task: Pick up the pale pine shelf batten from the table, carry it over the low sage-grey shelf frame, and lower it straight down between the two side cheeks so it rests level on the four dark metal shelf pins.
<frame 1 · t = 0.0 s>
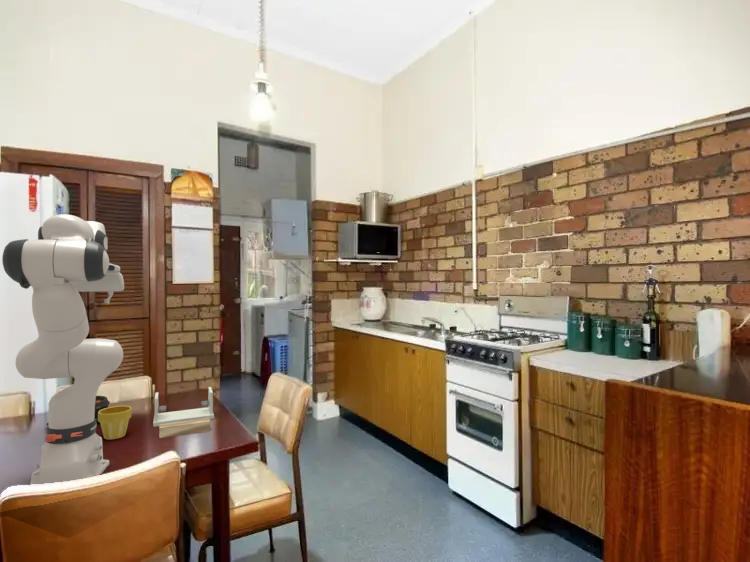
hand: (91, 304, 149), 48 cm above the table, tool pointing down, fingers open, 8 cm apart
pine batten: (185, 433, 152), on the table
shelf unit: (184, 417, 168), on the table
plant pot: (115, 436, 148), on the table
casserole: (84, 421, 164), on the table
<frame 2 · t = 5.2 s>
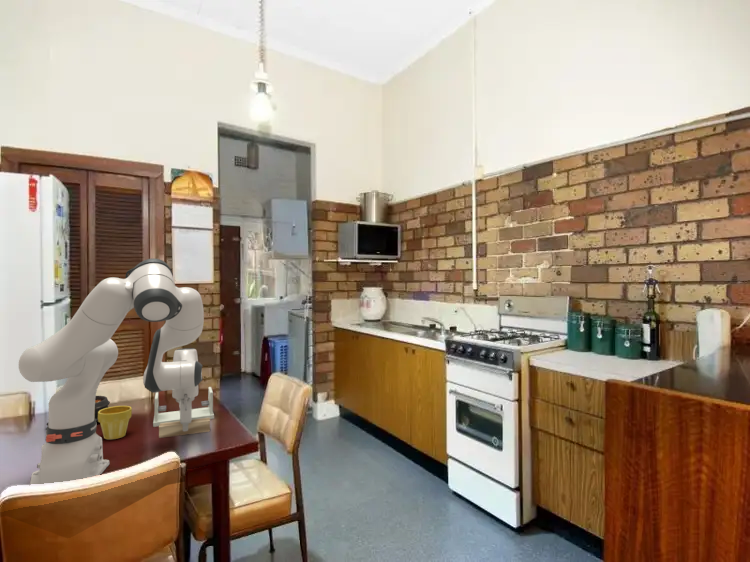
hand: (185, 428, 152), 2 cm above the table, tool pointing down, fingers closed on pine batten, 4 cm apart
pine batten: (185, 432, 152), on the table, touching gripper
everything else where it was.
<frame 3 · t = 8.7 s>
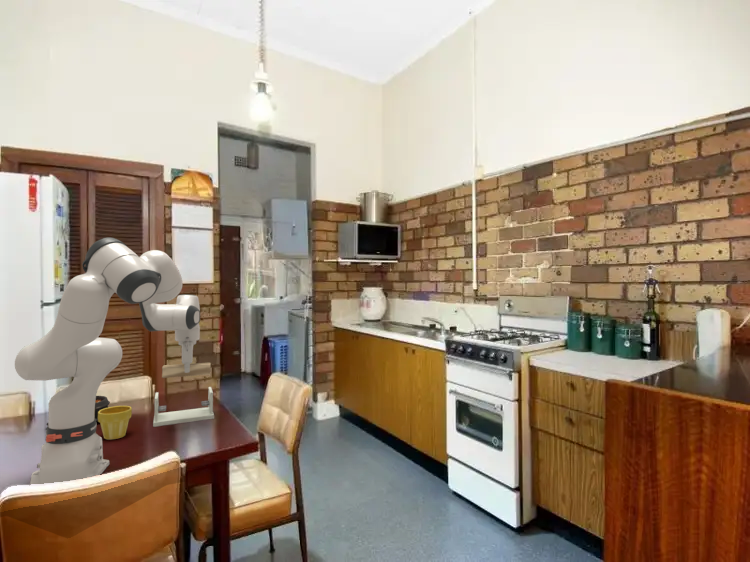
hand: (187, 370, 160), 21 cm above the table, tool pointing down, fingers closed on pine batten, 4 cm apart
pine batten: (187, 375, 160), point 20 cm above the table, touching gripper
everything else where it was.
when the fingers open (9 cm above the table, at t = 12.2 s): pine batten drops 2 cm, resting on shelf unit.
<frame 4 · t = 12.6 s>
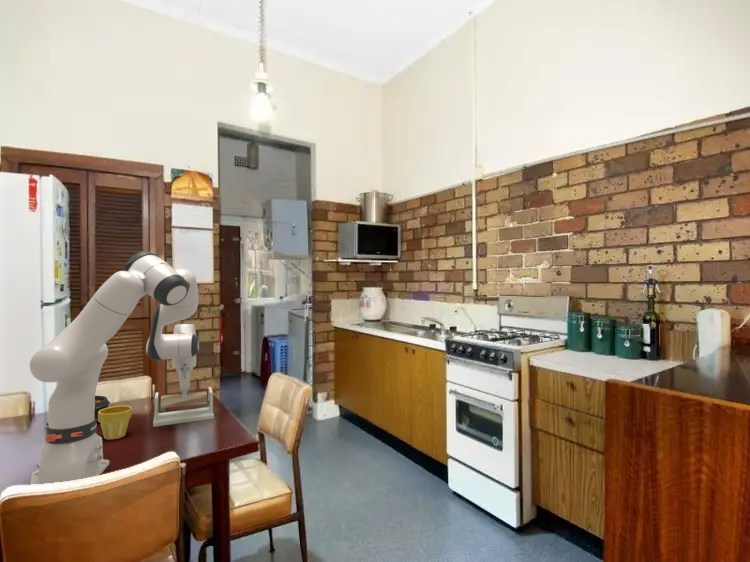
hand: (184, 395, 168), 9 cm above the table, tool pointing down, fingers open, 8 cm apart
pine batten: (184, 404, 168), point 6 cm above the table, touching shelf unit
everything else where it was.
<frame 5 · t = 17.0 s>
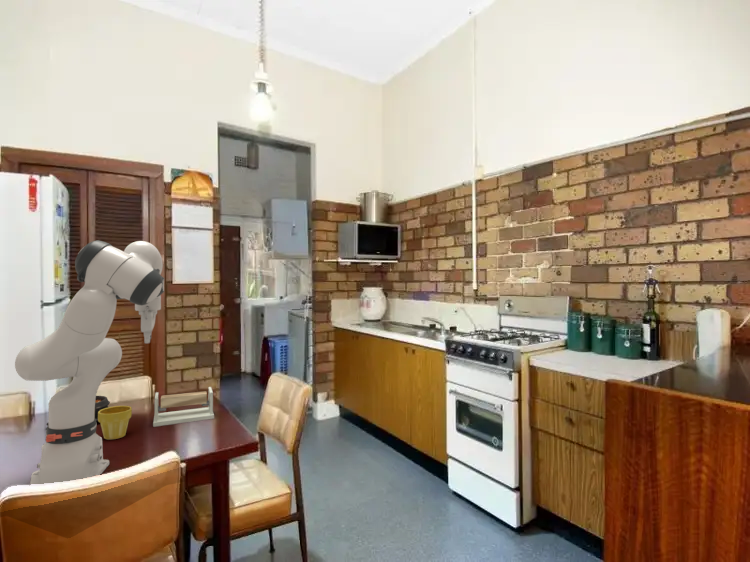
hand: (147, 341, 158), 33 cm above the table, tool pointing down, fingers open, 8 cm apart
nothing on the table moved.
at the end: pine batten 0.0 cm off-centre on the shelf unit, point 5.6 cm above the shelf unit's base; pine batten tilted 0°; the gripper is holding nothing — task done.
